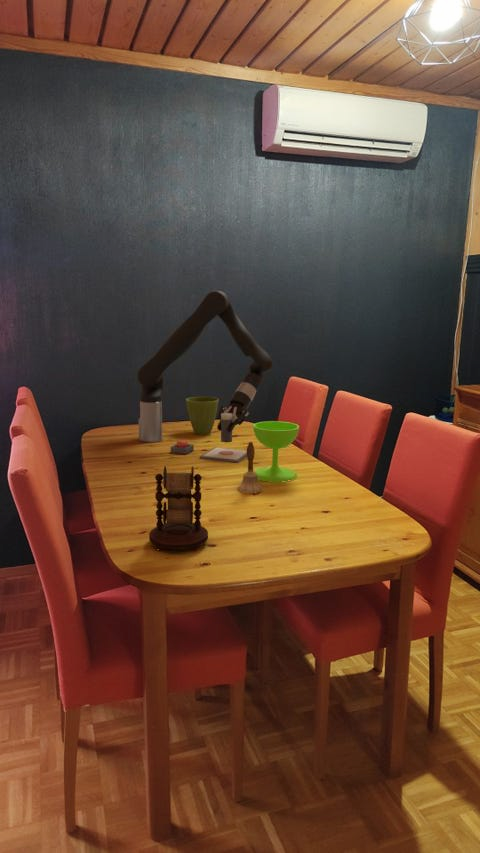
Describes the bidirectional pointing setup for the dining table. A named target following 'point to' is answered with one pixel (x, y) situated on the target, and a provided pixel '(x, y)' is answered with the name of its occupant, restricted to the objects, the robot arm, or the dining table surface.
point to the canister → (225, 421)
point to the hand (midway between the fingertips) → (223, 430)
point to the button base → (182, 449)
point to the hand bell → (250, 474)
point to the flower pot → (202, 413)
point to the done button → (182, 443)
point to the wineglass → (275, 447)
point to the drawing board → (225, 455)
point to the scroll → (178, 512)
